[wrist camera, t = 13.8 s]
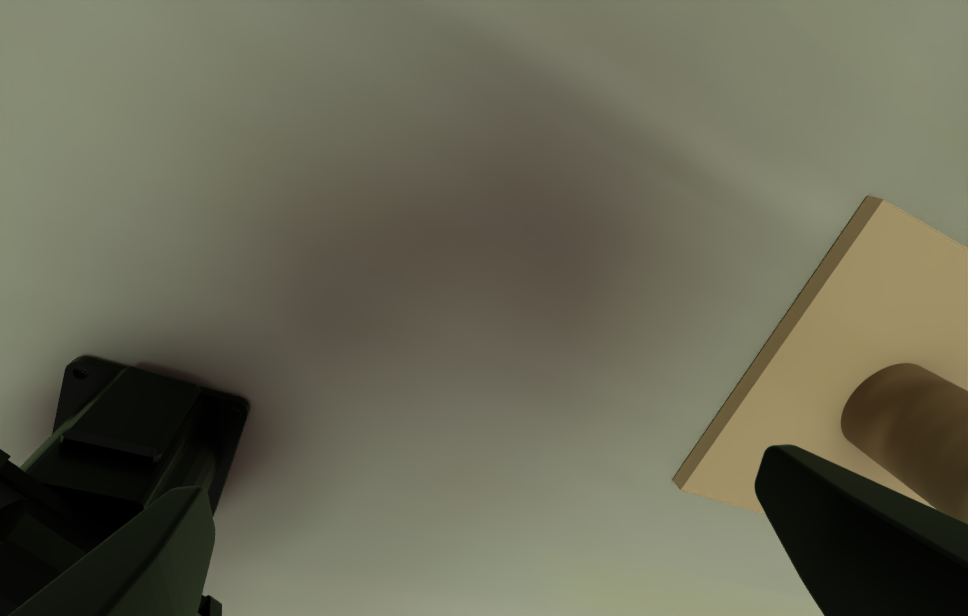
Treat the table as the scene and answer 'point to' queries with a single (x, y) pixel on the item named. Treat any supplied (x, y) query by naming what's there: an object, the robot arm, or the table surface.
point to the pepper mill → (914, 432)
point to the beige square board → (841, 352)
